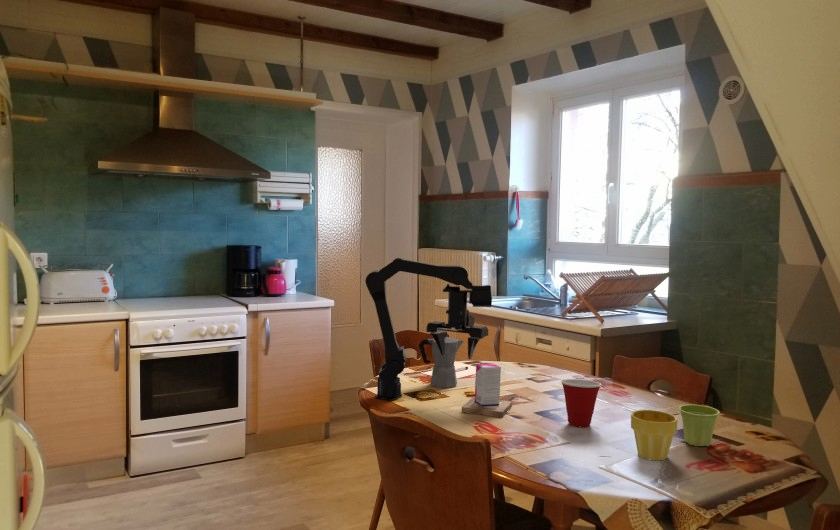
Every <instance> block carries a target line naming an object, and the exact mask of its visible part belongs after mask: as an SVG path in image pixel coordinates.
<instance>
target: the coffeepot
mask: <svg viewBox="0 0 840 530" xmlns="http://www.w3.org/2000/svg"><path fill="white" fill-rule="evenodd" d="M444 332H446V335H445V353H444V355H443V356H442V355H441V353H440V350H439V348H438V345H437V343H436V341H435V340H434V338H423V339H422V340H421V341H420V342H419V343H418V349H419V351H420V355H421V358H422V361H423V363H424V364H431V360H427V353H426V349H425V345H429V346H431V351H432V352H431V353H432V359H433V360H434V364H433V368H432V372H431V378H430V382H429V383H430V386H431V387H434V386H435V388H438V387H441V388H440V389H450V388H449V387H452V388H455V387H457V384H458V381H457V373H456V367H455V361H456V357H457V356H456V355H457V352H458V351H459V349H460V347H461V346H462V344H464V343H465V342H464V341H463V340H462V339H458V338H453V337H448V336H447V335H448V331H444Z"/></svg>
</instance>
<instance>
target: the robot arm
mask: <svg viewBox="0 0 840 530" xmlns="http://www.w3.org/2000/svg"><path fill="white" fill-rule="evenodd" d="M399 272H404V273H409V274H414V275H415V274H416V275H421V276H426V277H431V278H437V279H439V280H442V281H445V282H447V284H446V285H445V286H444V287H443V288H442V292H443V293H448V294H447V295H448V296H447V298H448V300H447V303H448V305H447V309H446V310H445V314H447V322H444V321H436V320H435V321H431V322H430V321H429V322H427V325H426V329H425V330H426V332H427V333H429V335H430V336H432V339H434V340H435V341H436V343H437V345H438V348H439V350H440V353H441V355H442V356H443V355H444V353H445V335H446V332H451V333H462V334H468V335H469V337H467V357H468V360H471V359H472V358H473V355H474V352H475V349H476V347H477V345H478V343H479V341H481V340H482V339H484V338H486V337H487V336H489V328H488V327H487V326H486V325H485V326H484V325H475V320H476V317H474V316H473V315H470V311H469V309H468V304H471V305H472V308H492V301H493V296H492V285H490V284H484V285H482V284H481V285H480V284H479V285H477V284H474V285H473V282H472V281H470V280H469V273H468V271H467V269H466V267H464V266H463V265H459V264H456V265H455V264H447V265H446V264H445V265H443V264H442V265H440V264H439V265H438V264H432V263H429V262H428V263H427V262H422V261H415V260H410V259H404V258H402V257H396V258H394V259H393V260H392V261H391V262H389V263H388V264H387V265H384V267H382V268H381V269H379V270H378V269H377V270H372V271H371V272H369V273H368V274H367V275H366V277H365V281H364V282H365V285H366V288H367V290H368V292H369V295H370V297H371V299H372V300H373V302H374V305H375V310H376V316H377V318H378V323H379V327H380V331H381V337H382V340H383V343H384V359H385V360H384V361H385V363H383V365H381V366H380V368H379V372H378V376H377V389H376V390H377V391H376V394H375V395H374V398H377V399H381V400H385V401H386V400H387V401H394V400H396V399H399V398H401V397H403V394H402V383H401V377H399V375H400V374H402V372H404V370H405V365H406V363H407V359H408V358H407V356H406V353H405V346H404V345H401V346H400V345H399V343H398V341H397V337H396V333H395V329H394V325H393V320H392V316H391V312H390V309H389V303H388V299H387V281H388V280H389V279H391V278H393V276H395V275H396V274H398V273H399ZM450 284H451V285H455V286H451V285H450ZM461 286H462V287H464V288H465V289H462V288H461ZM444 331H446V332H444Z"/></svg>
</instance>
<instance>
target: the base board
mask: <svg viewBox="0 0 840 530" xmlns="http://www.w3.org/2000/svg"><path fill="white" fill-rule="evenodd" d="M474 401H475V396H473V397H471V398H470V399H469V400H468V401H467V402H466V403H465V404H463V405H462V406H461V413H464V412H466V413H467V414H472V413H474V415H480V414H483V415H482V416H488V415H491V417H496V416H498V418H504V416H505V415H506V414H507V413H508V412H509V411H510V410H511V408H512V407H513V401H509V400H502V399H500V401H499V406H486V407H481V406H480V405H479V404H477V403H476V402H474ZM508 410H509V411H508ZM507 411H508V412H507Z"/></svg>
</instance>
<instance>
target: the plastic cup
mask: <svg viewBox="0 0 840 530" xmlns="http://www.w3.org/2000/svg"><path fill="white" fill-rule="evenodd" d="M560 382H561V384H562V388H563V393H564V401H565V408H566V413H567V414H566V415H567V422H568V425H570V426H572V427H576V428H588V427H591V424H592V419H593V418H592V417H593V414H594V411H595V407H596V402H597V397H598V394H599V390H600V388H601V387H602V383H601V382H597V381H593V380H588V379H587V380H586V379H579V378H574V379H573V378H567V379H566V378H565V379H562V380H561V379H560Z"/></svg>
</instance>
